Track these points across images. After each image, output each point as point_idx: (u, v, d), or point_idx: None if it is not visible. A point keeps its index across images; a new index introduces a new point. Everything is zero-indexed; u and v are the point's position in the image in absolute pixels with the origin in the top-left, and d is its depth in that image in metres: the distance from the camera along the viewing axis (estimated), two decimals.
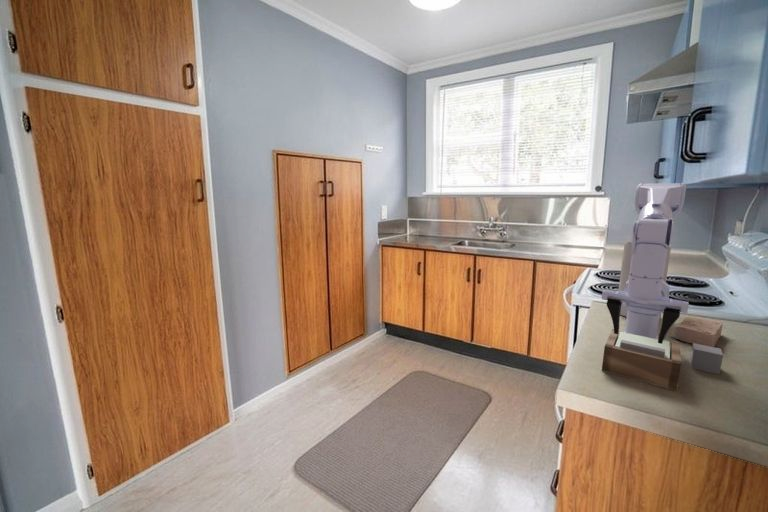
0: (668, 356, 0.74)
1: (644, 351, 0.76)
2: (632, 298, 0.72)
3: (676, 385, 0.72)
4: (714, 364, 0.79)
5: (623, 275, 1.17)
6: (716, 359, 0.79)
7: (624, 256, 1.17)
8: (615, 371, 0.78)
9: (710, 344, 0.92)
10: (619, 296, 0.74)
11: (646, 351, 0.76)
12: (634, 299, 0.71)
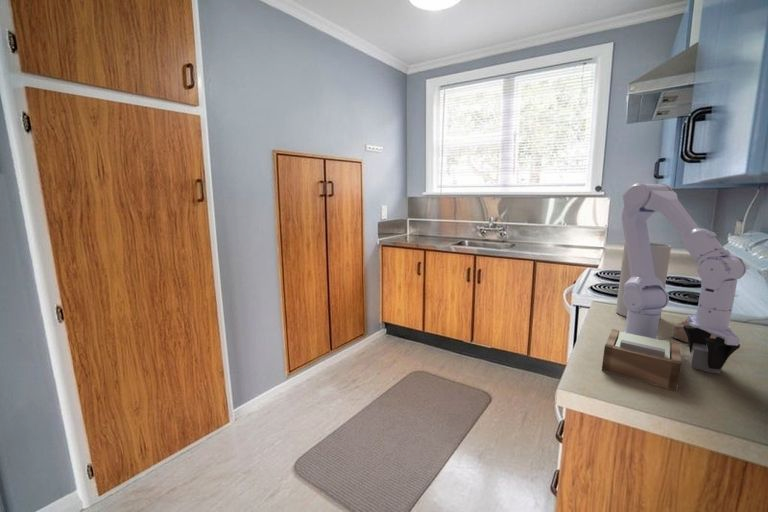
0: (668, 356, 0.74)
1: (644, 351, 0.76)
2: None
3: (676, 385, 0.72)
4: None
5: (623, 275, 1.17)
6: None
7: (624, 256, 1.17)
8: (615, 371, 0.78)
9: None
10: (691, 320, 0.85)
11: (646, 351, 0.76)
12: None
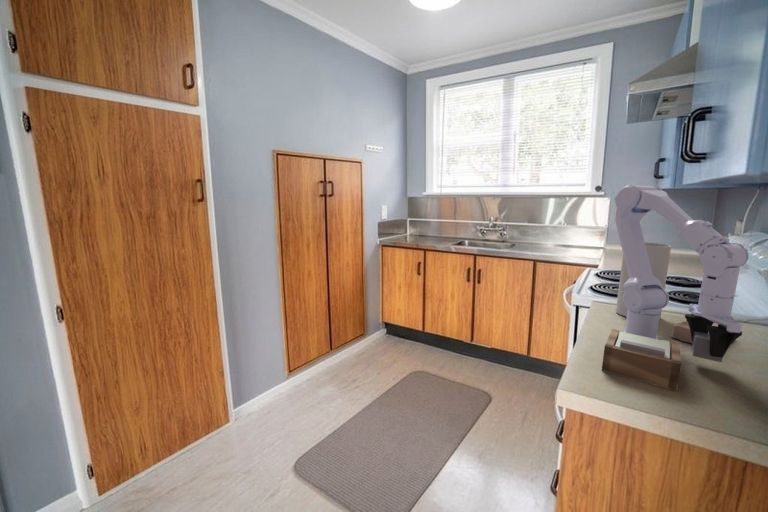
0: (668, 356, 0.74)
1: (644, 351, 0.76)
2: (695, 310, 0.82)
3: (676, 385, 0.72)
4: None
5: (623, 275, 1.17)
6: None
7: None
8: (615, 371, 0.78)
9: None
10: (693, 309, 0.84)
11: (646, 351, 0.76)
12: None
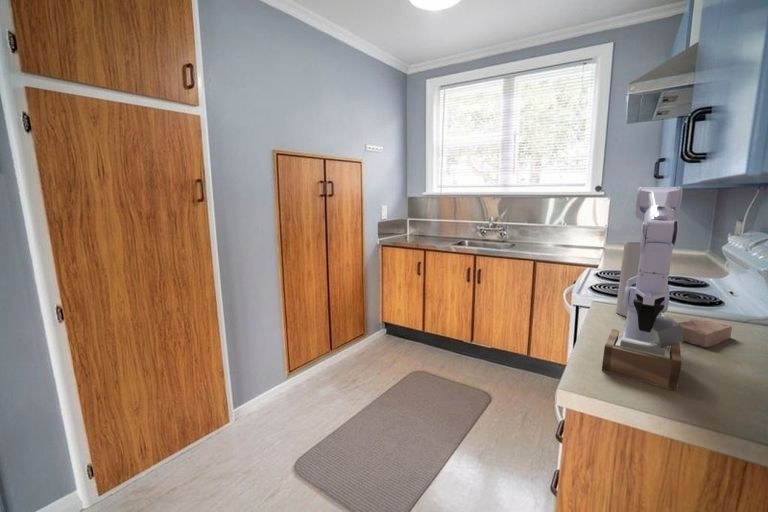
0: (668, 355, 0.74)
1: (644, 350, 0.76)
2: None
3: (676, 385, 0.72)
4: (677, 335, 0.79)
5: (623, 275, 1.17)
6: (677, 330, 0.79)
7: (624, 256, 1.17)
8: (615, 371, 0.78)
9: (704, 343, 0.93)
10: None
11: (646, 350, 0.76)
12: None
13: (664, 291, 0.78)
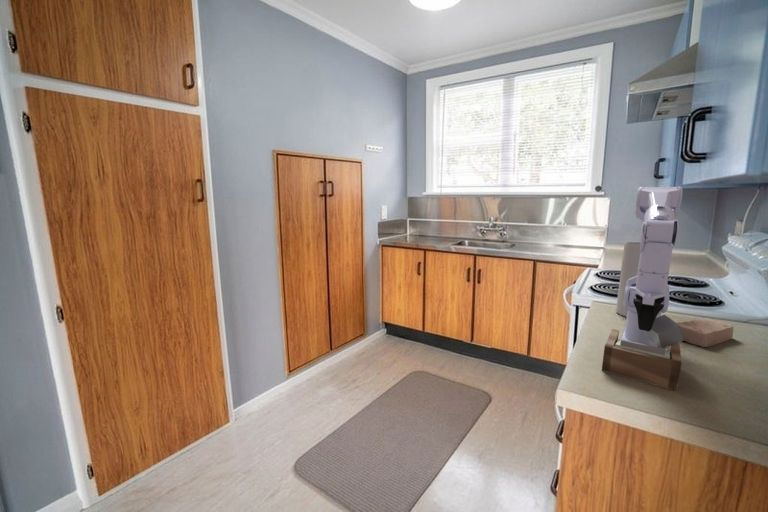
0: (668, 355, 0.74)
1: (644, 349, 0.76)
2: None
3: (676, 385, 0.72)
4: (677, 335, 0.79)
5: (623, 275, 1.17)
6: (676, 331, 0.79)
7: (624, 256, 1.17)
8: (615, 371, 0.78)
9: (702, 343, 0.93)
10: None
11: (646, 349, 0.76)
12: None
13: (664, 291, 0.78)
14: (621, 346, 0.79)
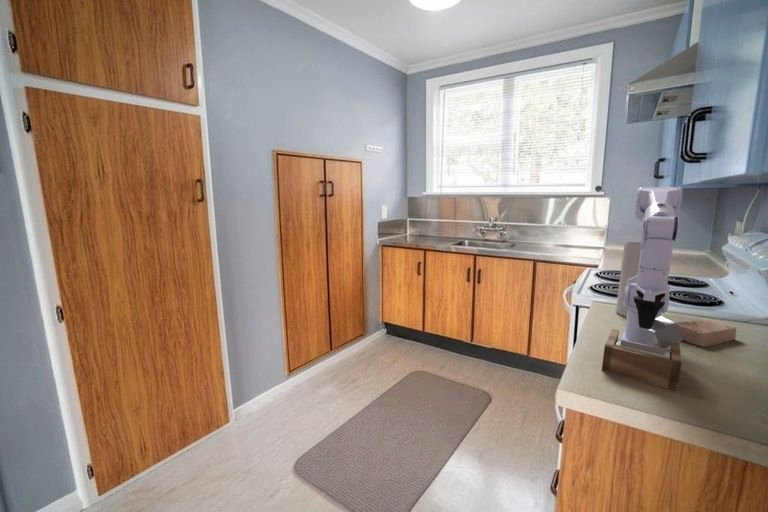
0: (668, 355, 0.74)
1: (644, 349, 0.76)
2: None
3: (676, 385, 0.72)
4: (674, 334, 0.80)
5: (623, 275, 1.17)
6: (673, 329, 0.79)
7: (624, 256, 1.17)
8: (615, 371, 0.78)
9: (700, 343, 0.93)
10: None
11: (646, 349, 0.76)
12: None
13: (665, 287, 0.78)
14: (621, 346, 0.79)
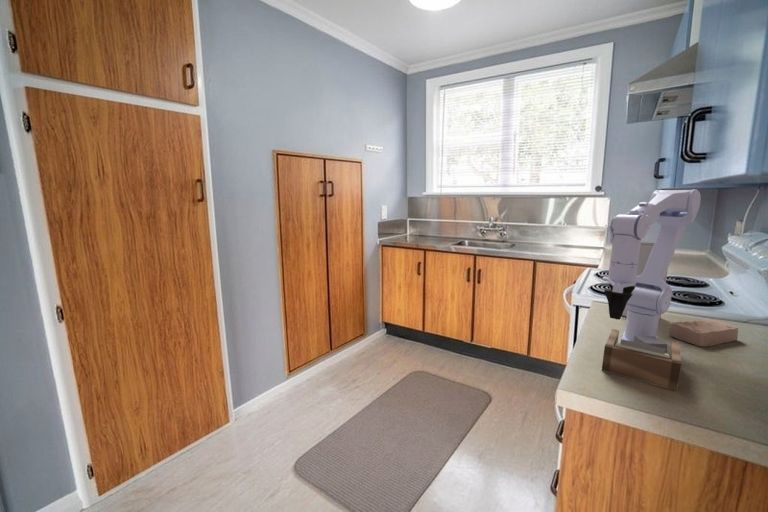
0: (668, 355, 0.74)
1: (644, 348, 0.76)
2: None
3: (676, 385, 0.72)
4: (657, 340, 0.87)
5: None
6: (654, 338, 0.88)
7: None
8: (615, 371, 0.78)
9: (699, 342, 0.94)
10: None
11: (646, 348, 0.76)
12: None
13: (633, 280, 0.84)
14: (621, 345, 0.79)
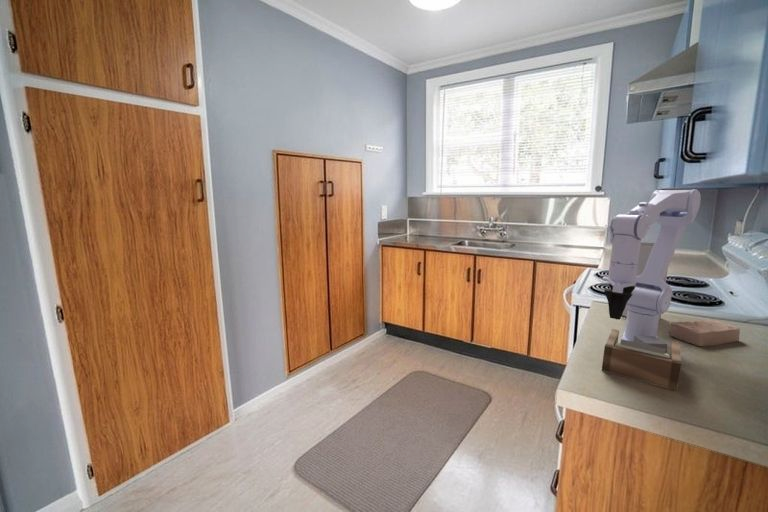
0: (668, 355, 0.74)
1: (644, 348, 0.76)
2: None
3: (676, 385, 0.72)
4: (657, 340, 0.87)
5: None
6: (654, 338, 0.88)
7: None
8: (615, 371, 0.78)
9: (698, 342, 0.94)
10: None
11: (646, 348, 0.76)
12: None
13: (633, 280, 0.84)
14: (621, 345, 0.79)
